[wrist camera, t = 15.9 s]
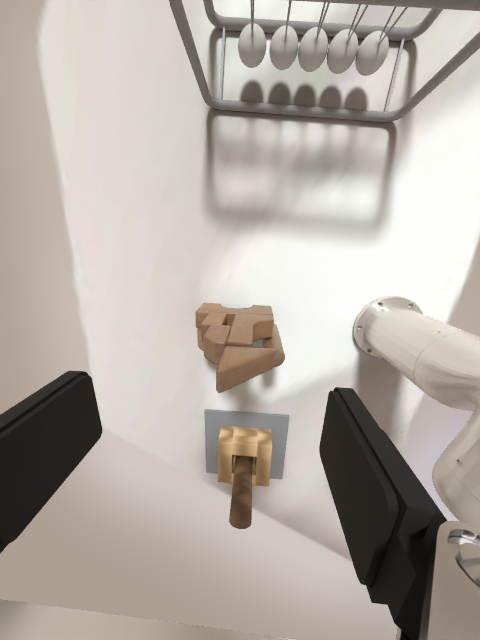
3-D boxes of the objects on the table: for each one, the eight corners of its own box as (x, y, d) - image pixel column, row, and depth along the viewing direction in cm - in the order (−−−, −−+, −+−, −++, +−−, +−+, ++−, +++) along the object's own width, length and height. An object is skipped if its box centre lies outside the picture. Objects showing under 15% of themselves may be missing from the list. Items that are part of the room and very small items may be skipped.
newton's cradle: (205, 110, 35) (159, -17, 18) (209, 21, 32) (157, -232, 15) (396, 124, 34) (533, 3, 17) (420, 33, 31) (616, -225, 14)
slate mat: (288, 415, 52) (289, 416, 52) (281, 477, 58) (282, 479, 58) (205, 409, 53) (204, 410, 53) (206, 470, 59) (206, 472, 59)
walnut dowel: (253, 441, 54) (251, 515, 39) (252, 453, 56) (250, 529, 40) (237, 439, 55) (229, 512, 40) (236, 452, 56) (229, 527, 41)
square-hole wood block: (270, 429, 53) (272, 447, 48) (267, 466, 57) (268, 486, 52) (221, 425, 54) (217, 442, 49) (221, 462, 57) (218, 481, 53)
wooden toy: (204, 333, 47) (151, 418, 23) (203, 302, 45) (144, 362, 21) (276, 337, 46) (298, 429, 23) (279, 306, 44) (306, 372, 20)
